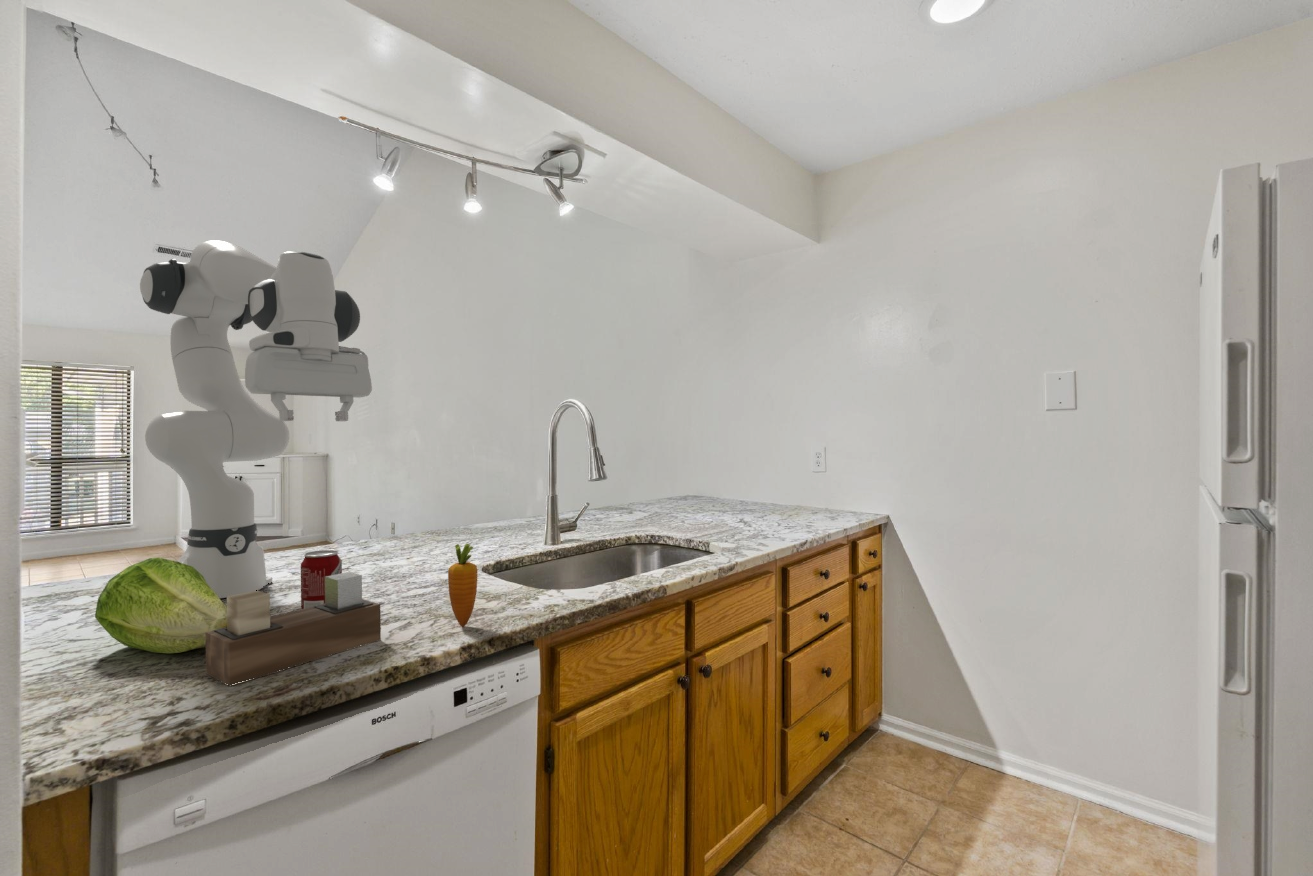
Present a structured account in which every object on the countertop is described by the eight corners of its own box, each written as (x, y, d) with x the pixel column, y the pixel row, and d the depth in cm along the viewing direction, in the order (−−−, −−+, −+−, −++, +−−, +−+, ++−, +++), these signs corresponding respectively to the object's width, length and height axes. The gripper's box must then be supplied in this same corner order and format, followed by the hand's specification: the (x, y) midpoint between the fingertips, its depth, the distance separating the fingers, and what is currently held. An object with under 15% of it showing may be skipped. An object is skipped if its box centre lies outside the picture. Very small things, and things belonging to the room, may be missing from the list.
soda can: (324, 623, 110) (323, 557, 109) (292, 620, 111) (291, 555, 111) (350, 612, 116) (349, 549, 116) (319, 610, 118) (319, 548, 117)
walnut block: (206, 673, 87) (205, 630, 87) (354, 630, 106) (354, 595, 105) (229, 686, 83) (229, 641, 83) (380, 639, 101) (380, 602, 101)
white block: (325, 613, 99) (324, 576, 99) (349, 607, 103) (348, 571, 103) (338, 617, 97) (337, 580, 97) (362, 611, 100) (361, 575, 100)
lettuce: (277, 652, 99) (169, 697, 85) (194, 619, 109) (88, 655, 96) (271, 566, 97) (161, 599, 83) (188, 542, 108) (79, 567, 94)
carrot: (448, 624, 109) (447, 541, 109) (476, 621, 111) (476, 539, 110) (448, 632, 104) (448, 546, 104) (478, 629, 106) (478, 544, 106)
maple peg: (227, 637, 88) (226, 596, 88) (257, 630, 91) (257, 590, 91) (239, 643, 86) (238, 601, 85) (270, 635, 89) (269, 594, 89)
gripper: (357, 351, 117) (362, 422, 117) (238, 339, 100) (243, 422, 100) (376, 346, 114) (381, 419, 113) (255, 332, 97) (260, 418, 96)
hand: (315, 421), depth 106 cm, fingers open, 8 cm apart
